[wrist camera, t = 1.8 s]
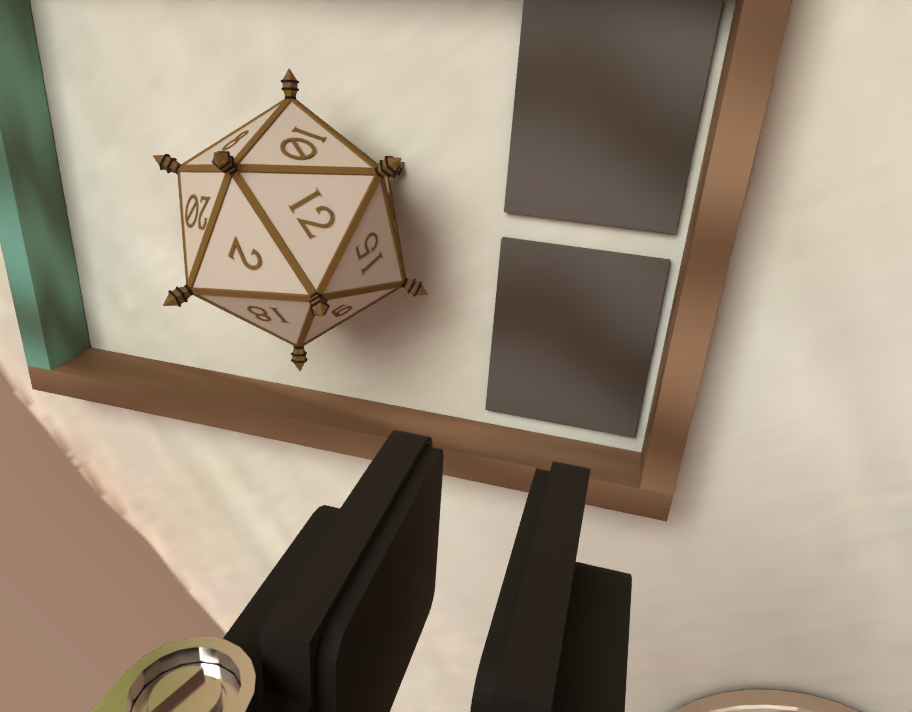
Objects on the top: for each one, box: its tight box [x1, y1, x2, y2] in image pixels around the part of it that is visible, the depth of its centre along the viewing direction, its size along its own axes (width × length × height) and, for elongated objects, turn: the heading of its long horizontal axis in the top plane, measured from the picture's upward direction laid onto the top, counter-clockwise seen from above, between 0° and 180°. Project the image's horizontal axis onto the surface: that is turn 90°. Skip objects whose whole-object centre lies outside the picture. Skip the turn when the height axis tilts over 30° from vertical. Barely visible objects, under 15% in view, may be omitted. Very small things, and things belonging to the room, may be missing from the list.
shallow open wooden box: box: [0, 0, 792, 521], centre depth 26 cm, size 19×28×2 cm
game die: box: [153, 69, 428, 371], centre depth 24 cm, size 9×8×10 cm
